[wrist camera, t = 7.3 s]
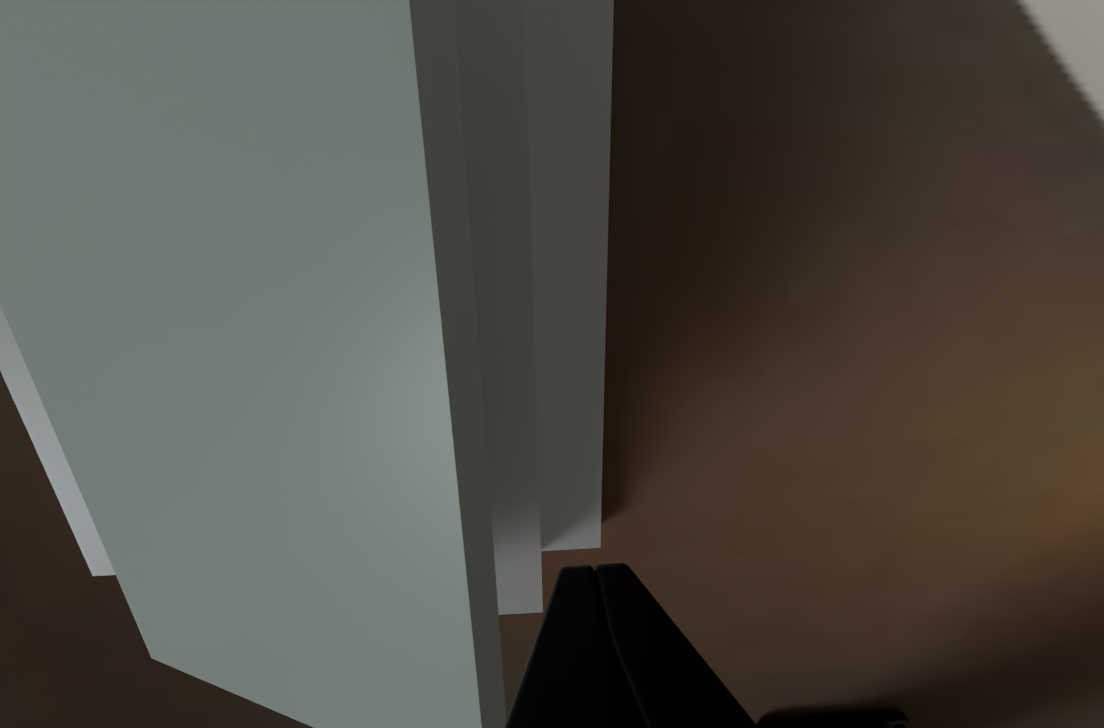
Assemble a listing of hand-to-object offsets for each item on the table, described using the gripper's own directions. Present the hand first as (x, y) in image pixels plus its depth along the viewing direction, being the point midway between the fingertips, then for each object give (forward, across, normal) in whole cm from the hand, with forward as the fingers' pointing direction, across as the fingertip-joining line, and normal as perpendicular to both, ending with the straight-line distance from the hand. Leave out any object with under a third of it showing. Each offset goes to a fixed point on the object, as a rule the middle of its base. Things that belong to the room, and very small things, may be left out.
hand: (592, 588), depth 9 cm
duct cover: (+5, +6, 0) cm, 8 cm away
